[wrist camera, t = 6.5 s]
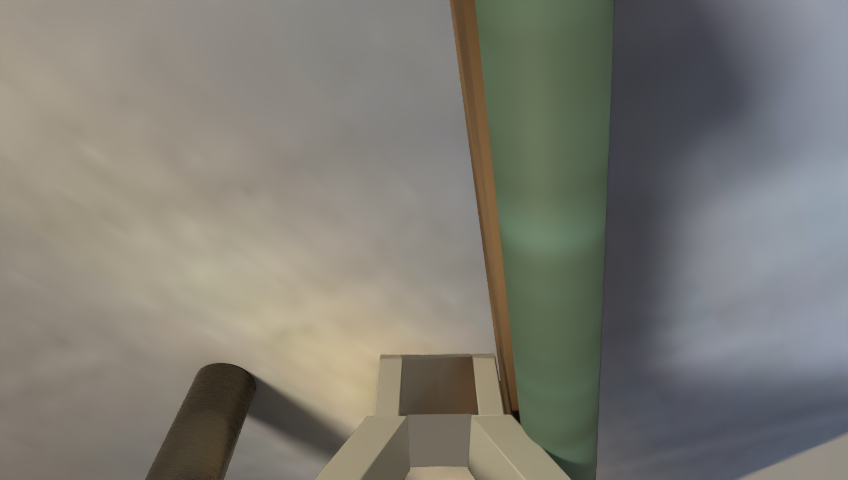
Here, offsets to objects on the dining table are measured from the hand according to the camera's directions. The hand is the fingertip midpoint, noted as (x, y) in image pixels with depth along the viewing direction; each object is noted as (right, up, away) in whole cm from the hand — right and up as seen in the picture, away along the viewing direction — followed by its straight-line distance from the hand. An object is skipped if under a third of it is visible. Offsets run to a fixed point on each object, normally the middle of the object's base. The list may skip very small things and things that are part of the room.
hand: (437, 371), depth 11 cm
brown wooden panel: (+2, +4, +3) cm, 5 cm away
